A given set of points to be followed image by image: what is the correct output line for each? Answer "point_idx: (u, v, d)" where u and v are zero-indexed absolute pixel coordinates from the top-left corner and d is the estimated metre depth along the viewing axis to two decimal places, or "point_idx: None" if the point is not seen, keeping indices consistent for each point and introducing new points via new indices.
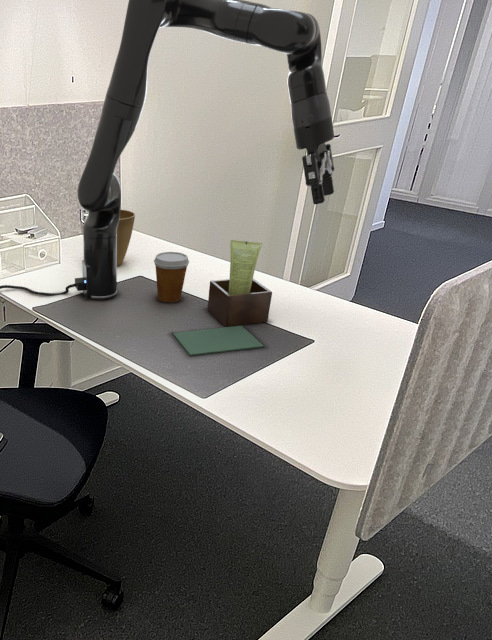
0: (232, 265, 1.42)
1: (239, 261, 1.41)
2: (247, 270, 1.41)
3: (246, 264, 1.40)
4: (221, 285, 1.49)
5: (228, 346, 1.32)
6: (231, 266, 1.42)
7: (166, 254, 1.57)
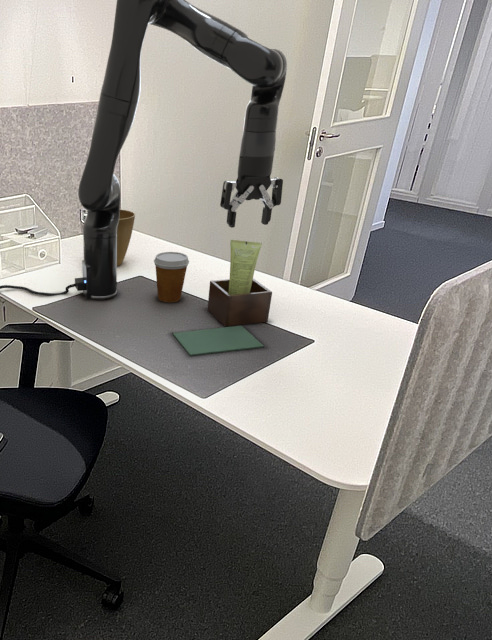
0: (232, 265, 1.42)
1: (239, 261, 1.41)
2: (247, 270, 1.41)
3: (246, 264, 1.40)
4: (221, 285, 1.49)
5: (228, 346, 1.32)
6: (231, 266, 1.42)
7: (166, 254, 1.57)
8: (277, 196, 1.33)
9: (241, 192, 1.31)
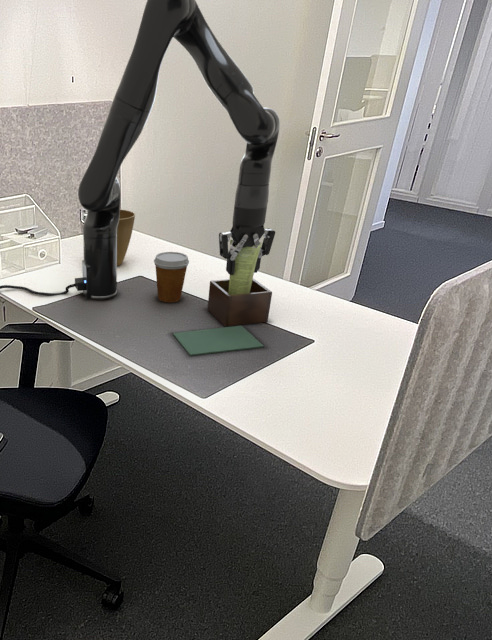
0: None
1: (238, 261, 1.41)
2: (247, 270, 1.41)
3: (246, 264, 1.40)
4: (221, 285, 1.49)
5: (228, 346, 1.32)
6: None
7: (166, 254, 1.57)
8: (267, 246, 1.39)
9: (237, 242, 1.37)
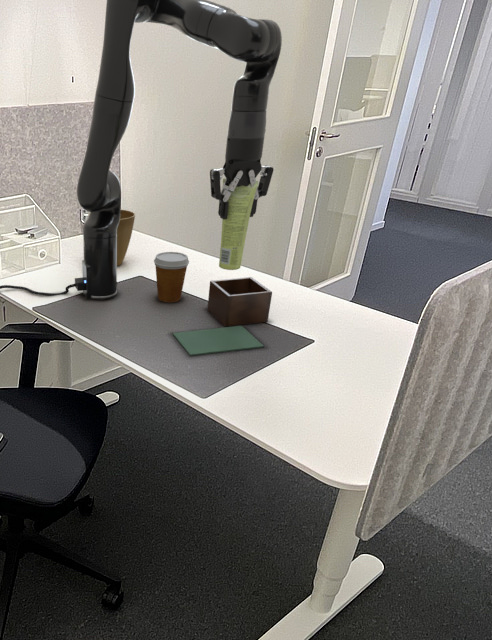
0: None
1: (232, 204, 1.25)
2: (242, 213, 1.25)
3: (241, 206, 1.24)
4: (221, 285, 1.49)
5: (228, 346, 1.32)
6: None
7: (166, 254, 1.57)
8: (264, 185, 1.23)
9: (230, 180, 1.21)
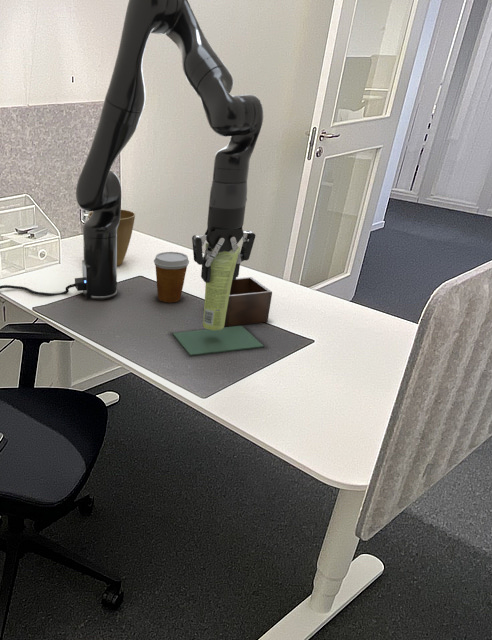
0: None
1: (215, 268, 1.26)
2: (225, 277, 1.26)
3: (223, 270, 1.25)
4: None
5: (228, 346, 1.32)
6: None
7: (166, 254, 1.57)
8: (246, 250, 1.25)
9: (212, 246, 1.23)
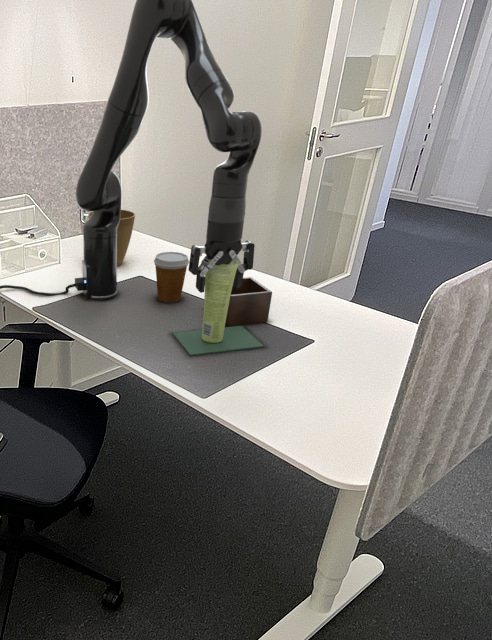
0: (207, 285, 1.29)
1: (214, 282, 1.28)
2: (223, 291, 1.28)
3: (222, 284, 1.27)
4: None
5: (228, 346, 1.32)
6: (206, 286, 1.29)
7: (166, 254, 1.57)
8: (249, 260, 1.26)
9: (210, 257, 1.24)
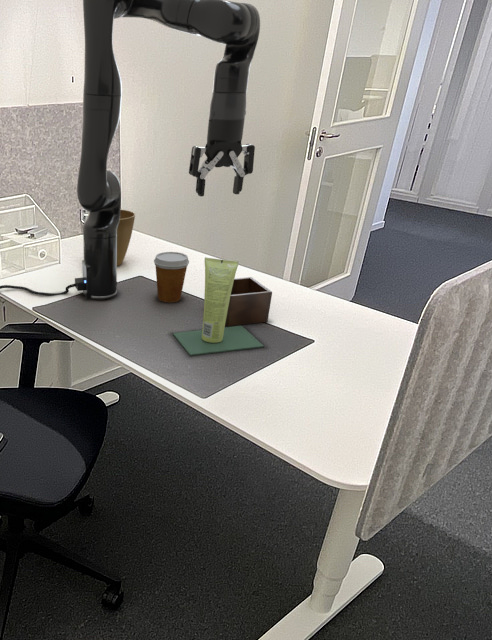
0: (207, 285, 1.29)
1: (214, 282, 1.28)
2: (223, 291, 1.28)
3: (222, 284, 1.27)
4: None
5: (228, 346, 1.32)
6: (206, 286, 1.29)
7: (166, 254, 1.57)
8: (249, 164, 1.27)
9: (210, 158, 1.25)
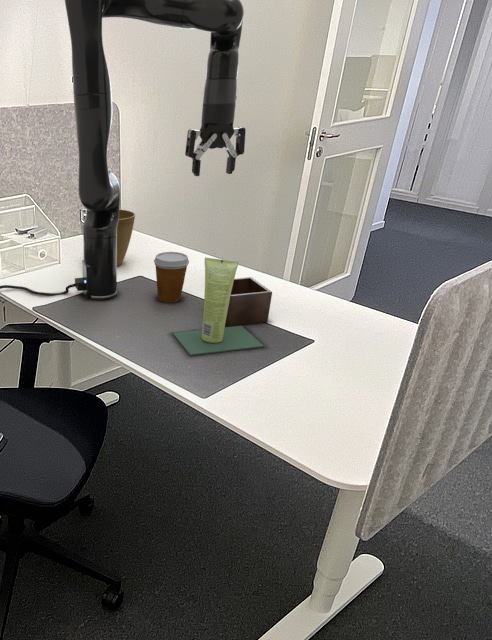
0: (207, 285, 1.29)
1: (214, 282, 1.28)
2: (223, 291, 1.28)
3: (222, 284, 1.27)
4: None
5: (228, 346, 1.32)
6: (206, 286, 1.29)
7: (166, 254, 1.57)
8: (240, 145, 1.37)
9: (205, 140, 1.35)
